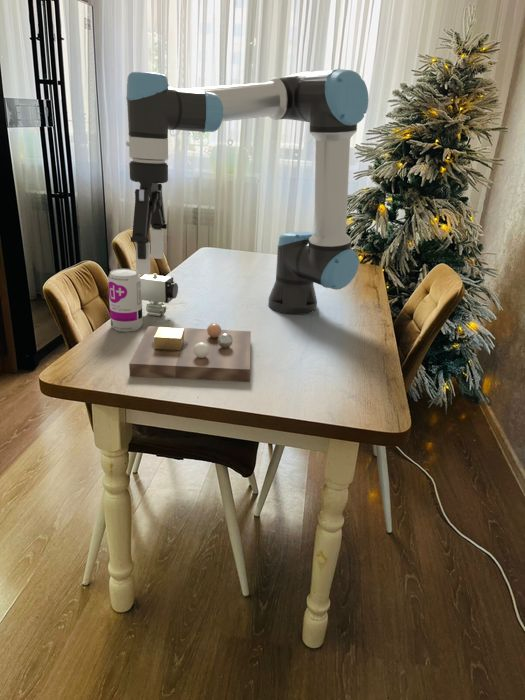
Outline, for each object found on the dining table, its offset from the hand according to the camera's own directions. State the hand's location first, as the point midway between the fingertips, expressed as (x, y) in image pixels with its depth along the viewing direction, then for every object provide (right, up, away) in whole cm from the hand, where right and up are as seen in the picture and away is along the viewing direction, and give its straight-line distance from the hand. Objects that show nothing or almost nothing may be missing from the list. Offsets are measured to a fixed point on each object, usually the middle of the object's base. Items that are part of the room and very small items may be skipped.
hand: (150, 265), depth 109 cm
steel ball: (+15, -16, +10) cm, 24 cm away
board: (+8, -20, +12) cm, 24 cm away
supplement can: (-12, -12, +26) cm, 32 cm away
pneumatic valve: (-6, -8, +37) cm, 38 cm away
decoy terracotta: (+12, -13, +15) cm, 24 cm away
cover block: (+2, -17, +10) cm, 20 cm away
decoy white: (+10, -18, +4) cm, 21 cm away
